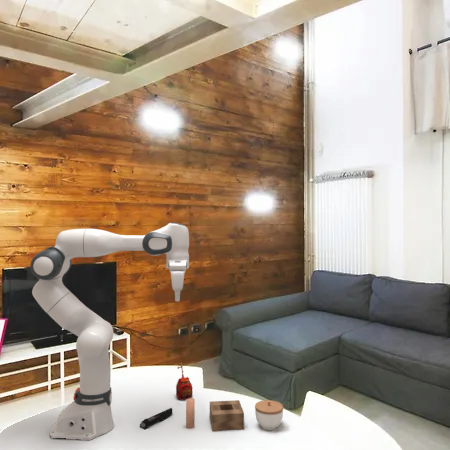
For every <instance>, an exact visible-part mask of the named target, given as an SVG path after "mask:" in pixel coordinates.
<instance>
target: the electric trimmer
mask: <svg viewBox="0 0 450 450" xmlns="http://www.w3.org/2000/svg"><path fill="white" fill-rule="evenodd" d="M171 415H173V408H172V407H170V408H167V409H165V410H163V411H161V412H158V413H157V414H154V415H151V416H150V417H146V418H144V419H143V420H142V421H141V422H140V424H139V428H140V429H142V430H148V429H149V427H150V426H153V425H155V424H156V423H158V422H162V421H164V420H166V419H167V418H169V417H170V416H171Z"/></svg>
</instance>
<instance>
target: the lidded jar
mask: <svg viewBox="0 0 450 450" xmlns="http://www.w3.org/2000/svg"><path fill="white" fill-rule="evenodd" d="M254 408H255V409H254V410H255V411H254V412H255V418H256V421H257V423H258V425H260V426H261V428H262V429H264V430H266V431H274V430H276V429H277V428H278V427H279V426H280V424H281V423H282V421H283V418H284V416H283V415H284V406H283V404H282V403H280V401H276V400H272V399H270V400H269V399H268V400H267V399H265V400H259V401H257V402H256V403H255V405H254Z"/></svg>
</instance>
